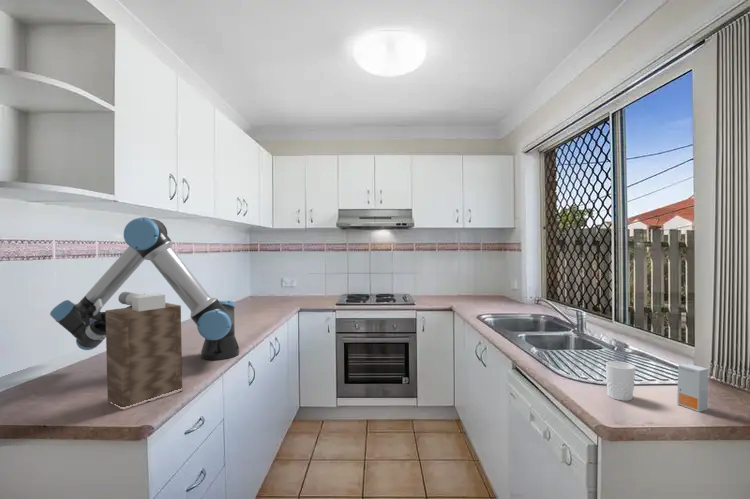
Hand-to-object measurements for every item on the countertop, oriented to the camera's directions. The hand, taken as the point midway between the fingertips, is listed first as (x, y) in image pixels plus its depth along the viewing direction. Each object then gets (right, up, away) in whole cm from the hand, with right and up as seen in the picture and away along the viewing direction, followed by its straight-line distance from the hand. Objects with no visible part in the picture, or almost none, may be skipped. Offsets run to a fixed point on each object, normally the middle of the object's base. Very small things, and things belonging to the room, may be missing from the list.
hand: (123, 300), depth 138 cm
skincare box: (+174, -30, -15) cm, 178 cm away
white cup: (+158, -29, -7) cm, 161 cm away
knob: (+7, -2, -4) cm, 9 cm away
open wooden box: (+11, -30, -6) cm, 32 cm away
